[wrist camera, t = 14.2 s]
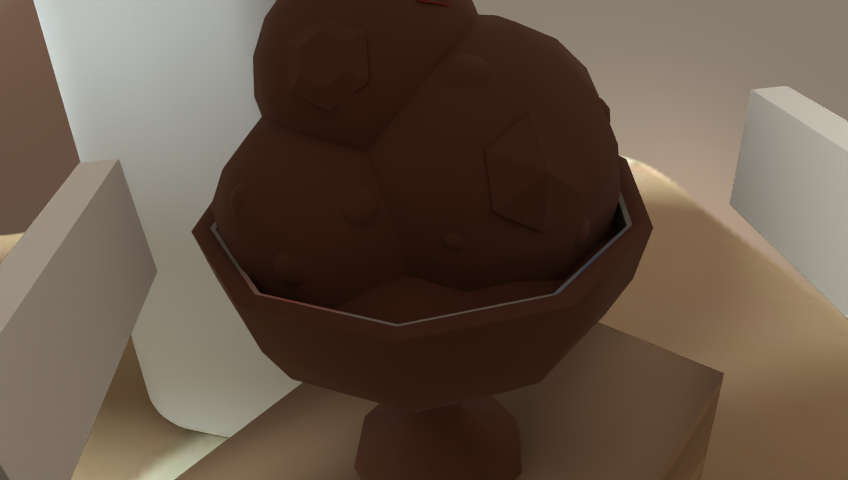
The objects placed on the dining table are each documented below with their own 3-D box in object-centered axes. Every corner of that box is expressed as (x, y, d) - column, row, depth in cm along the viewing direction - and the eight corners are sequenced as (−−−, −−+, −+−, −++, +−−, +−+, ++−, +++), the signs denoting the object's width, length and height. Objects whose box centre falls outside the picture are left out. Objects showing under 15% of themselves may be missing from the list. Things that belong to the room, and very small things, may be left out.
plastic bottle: (398, 487, 30) (287, -303, 16) (121, 428, 35) (-173, -235, 20) (475, 290, 42) (454, -258, 28) (262, 265, 47) (145, -222, 32)
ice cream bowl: (224, 612, 18) (-4, 44, 10) (315, 334, 27) (238, -73, 19) (637, 633, 17) (768, 14, 9) (584, 336, 26) (622, -94, 18)
